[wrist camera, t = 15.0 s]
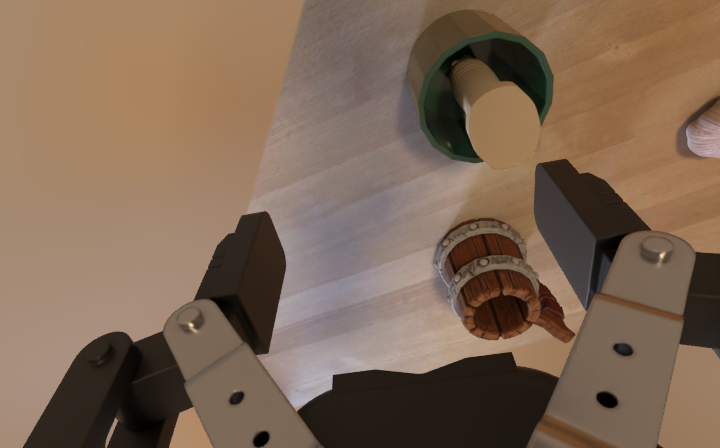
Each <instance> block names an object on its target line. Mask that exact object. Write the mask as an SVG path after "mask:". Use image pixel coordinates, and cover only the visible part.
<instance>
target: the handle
mask: <svg viewBox="0 0 720 448" xmlns="http://www.w3.org/2000/svg"><path fill="white" fill-rule="evenodd" d="M448 79H449V82H450V86H451V89H452V92H453V94H454V96H455V98H456V100H457V102H458V104H459V105H460V106H461V108H462V109H463V110H464V111H465V113H466V130H467V133H468V136H469V138H470V141H471V143H472V146H473V148H474V150H475V152H476V153H477V155H478V156H479V157H480V158H481V159H482V160H483V161H485V162H486V163H487V164H488V165H490V166H491V167H492V168H494V169H506V168H510V167H513V166H516V165H518V164H520V163H522V162H524V161H526V160H527V159H529V158H530V157H531V156H532V155H533V154H534V153H535V151H536V149H537V145H538V141H539V137H540V130H541V126H540V120H539V116H538V113H537V109H536V107H535V104H534V103H533V101H532V100H531V99H530V98H529V97H528V96H527V95H526V94H525V93H524V92H523V91H522V90H521V89H520V88H519V87H518V86H517V85H516V84H514V83H513V82H508V81H501V82H500V81H499V80H498V78H497V76H496V75H495V73H494V72H493V71H492V70H491V69H490V68H489V67H488V66H487V65H486V64H484V63H483V62H482V61H480V60H478V59H476V58H472V57H471V56H470V55H469V54H464V55H463V56H462V57H461V58H459V59H454V60H453V61H452V62H451V71H450V73H449V75H448Z"/></svg>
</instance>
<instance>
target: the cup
mask: <svg viewBox="0 0 720 448" xmlns="http://www.w3.org/2000/svg"><path fill="white" fill-rule="evenodd" d="M464 54H469V55H470V56H471V57H472V58H476V59H478V60H480V61H482V62H483V63H484V64H486V65H487V66H488V67H489V68H490V69H491V70H492V71H493V72H494V73H495V75H496V76H497V78H498V80H499V81H500V82H501V81H508V82H513V83H514V84H516V85H517V86H518V87H519V88H520V89H521V90H522V91H523V92H524V93H525V94H526V95H527V96H528V97H529V98H530V99H531V100H532V101H533V103H534V104H535V107H536V109H537V113H538V116H539V120H540V126H542V123H543V121H544V119H545V117H546V115H547V113H548V110H549V108H550V106H551V104H552V95H553V74H552V71H551V69H550V67H549V64H548V62H547V59H546V57H545V54H544V53H543V52H542V51H541V50H540V49H539V48H537V47H536V46H535V45H534V44H533V43H531V42H530V41H529V40H528V39H527V38H525V37H524V36H523V35H521V34H520V33H518V32H517V31H516V30H514V29H513V28H511V27H510V26H509V25H507V24H506V23H504V22H503V21H501V20H500V19H499V18H497V17H496V16H494V15H492V14H489V13H486V12H483V11H478V10H461V11H456V12H453V13H449V14H447V15H445V16H443V17H441V18H439V19H438V20H436V21H435V22H434V23H432V24H431V25H430V26H429V27H428V28H427V29H426V30H425V31H424V32H423V33H422V34H421V36H420V37H419V38H418V40H417V42H416V43H415V45H414V47H413V50H412V52H411V55H410V58H409V63H408V72H407V73H408V82H409V87H410V93H411V97H412V100H413V103H414V107H415V110H416V114H417V117H418V120H419V124H420V127H421V129H422V131H423V132H424V134H425V135H426V137H427V139H428V140H429V142H430V143H431V145H432V147H434V148H435V149H437V150H438V151H440V152H441V153H443V154H444V155H446V156H447V157H449V158H451V159H453V160H459V161H464V162H470V163H480V162H485V161H483V160H482V159H481V158H480V157H479V156H478V155H477V153H476V152H475V150H474V148H473V146H472V143H471V141H470V138H469V136H468V133H467V130H466V113H465V111H464V110H463V109H462V108H461V106H460V105H459V104H458V102H457V100H456V98H455V96H454V94H453V92H452V89H451V86H450V82H449V79H448V75H449V73H450V71H451V62H452V61H453V60H454V59H459V58H461V57H462V56H463V55H464Z"/></svg>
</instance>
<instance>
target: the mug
mask: <svg viewBox="0 0 720 448" xmlns="http://www.w3.org/2000/svg"><path fill="white" fill-rule="evenodd" d="M526 245H527V242H526V240H524V239H522V238H521V236H520V234H519V233H518V232H517V231H516V230H514V229H513V228H512V227H511V226H510V225H507V224H506V223H504V222H501V221H498V220H495V219H492V218H489V219H479V221H478V222H476V220H475V219H474V220H470V221H467V222H463V223H461V224H460V225H458V226H457V227H455V228H453V229H452V230H450V232H449V233H448V234H447V235H446V236H445V237H444V241H442V242H441V245H440V248H439V250H438V253H437V256H436V257H437V262H436V264H435V267H436V268H437V269H438V270H439V273H440V275H441V277H442V278H443V280H444V282H445V283H446V284H447V286H448V287H449V288H448V292H449V296H448V297H447V301H448V302H449V303H451V306H452V308H453V310H454V311H455V313H456V314H457V316H458V317H459V318H460V319H461V320H462V323H463V325H464V327H465V328H466V330H469V332H470V333H471V334H472V335H474V336H476V337H479V338H483V339H487V340H498V339H499V337H500V336H501V337H502V338H503V339H507V338H512V337H515V336H517V335H519V334H521V333H523V332H525V331H526V330H527V329H529V328H530V327H531V326H532V324H535V325H538V326H540V327H542V328H544V329H545V330H546V331H548V332H549V333H550V334H551V335H552V336H553V337H555V338H557V339H558V340H560V341H562V342H564V343H568V342H570V340H571V339H572V338H573V337H574V336H575V333H573V332H572V331H571V330H570V329H569V328H567V327H566V325H565V323H564V321H563V319H564V313H563V309H562V307H560V305H559V303H558V302H557V300H556V298H555V297H554V296H553V295H552V294H551V292H550V290H549V289H548V288H547V287H546V286H545V285H543V284H542V283H540V282H539V280H538V276H539V275H538V273H537V272H533V269H532V267H531V266H529V265H528V264H527V263H526V257H527V250H526V247H525V246H526Z"/></svg>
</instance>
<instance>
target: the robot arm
mask: <svg viewBox="0 0 720 448" xmlns="http://www.w3.org/2000/svg"><path fill="white" fill-rule="evenodd" d="M534 215H535V221H536V224H537V227H538V229H539V231H540V233H541V235H542V236H543V238H544V240H545V241H546V243H547V245H548V247H549V248H550V250H551V252H552V254H553V255H554V257H555V259H556V260H557V262H558V264H559V266H560V267H561V269H562V271H563V272H564V274H565V276H566V278H567V279H568V281H569V283H570V285H571V286H572V288H573V290H574V291H575V293H576V295H577V297H578V298H579V300H580V302H581V304H582V305H583V307H584V309H585V310H586V311H587V313H586V315H585V318H584V320H583V322H582V325H581V327H580V330H579V332H578V334H577V337H576V340H575V342H574V344H573V346H572V349H571V351H570V354H569V356H568V358H567V361H566V363H565V366H564V368H563V370H562V373H561V375H560V378H558V377H556V376H553V375H551V374H549V373H546V372H543V371H540V370H536V369H532V368H527V367H520V366H516V363H515V361H514V357H513V355H512V352H508V353H500V354H492V355H485V356H477V357H469V358H464V359H462V360H459V361H456V362H454V363H451V364H448V365H446V366H443V367H440V368H438V369H435V370H432V371H429V372H427V373H423V374H413V373H403V372H394V371H384V370H368V371H361V372H353V373H345V374H337V375H333V384H332V390H329V391H327V392H325V393H323V394H321V395H319V396H317V397H315V398H314V399H312V400H311V401H309V402H308V403H307V404H305V405H304V406H303V407H302V408H300V409H299V410H298V411H297V412H296V410H295V409H294V407H293V406H292V405H291V403H290V402H289V400H288V399H287V398H286V396H285V395H284V394H283V392H282V391H281V389H280V388H279V387H278V385H277V384H276V382H275V381H274V380H273V378H272V377H271V376H270V374H269V373H268V371H267V370H266V369H265V367H264V366H263V365H262V363H261V362H260V360H259V359H258V358H257V356H256V355H260V354H268V352H269V347H270V342H271V337H272V333H273V328H274V323H275V318H276V313H277V308H278V304H279V299H280V294H281V289H282V284H283V280H284V275H285V270H286V259H285V254H284V250H283V247H282V245H281V242H280V240H279V237H278V235H277V232H276V230H275V227H274V225H273V222H272V220H271V217H270V215H269V214H268V213H267V212H266V211H264V212H259V213H253V214H248V215H243V216H241V218H240V220H239V223H238V225H237V228H236V231H235V233H231V234H228V235H227V236H226V237H225V238H224V239H223V241H221V242H220V243H219V244H218V245H217V248H216V250H215V252H214V255H213V257H212V258H213V260H211V262H210V264H209V266H208V270H207V271H206V274H205V276H204V278H203V280H202V283H201V285H200V287H199V289H198V292H197V294H196V296H195V299H194V301H192V302H190V303H187V304H185V305H184V306H182V307H180V308H179V309H178V310H176V311H175V312H174V313H173V314H172V315H171V316H170V317H169V318H168V320H167V321H166V323H165V325H164V329H163V331H162V332H159V333H157V334H154V335H152V336H150V337H147V338H144V339H142V340H139V341H137V342H133V341H132V339H131V338H130V337H129V336H128V335H127V334H126V333H124V332H112V333H108V334H105V335H103V336H101V337H99V338H97V339H95V340H93V341H92V342H91V343H89V344H88V345H87V346H86V347H84V348H83V349H82V350H81V351H80V353H79V354H78V355H77V356H76V358H75V359H74V361H73V362H72V364H71V366H70V368H69V369H68V371H67V373H66V374H65V376H64V378H63V380H62V382H61V383H60V385H59V386H58V388H57V390H56V392H55V393H54V395H53V397H52V398H51V400H50V402H49V404H48V405H47V407H46V409H45V410H44V412H43V414H42V416H41V417H40V419H39V421H38V422H37V424H36V426H35V427H34V429H33V431H32V433H31V435H30V436H29V438H28V440H27V441H26V443H25V445H24V446H23V448H105V443H106V438H107V435H108V433H109V430H110V428H111V426H112V424H113V422H114V419H115V418H116V419H117V420H118V422H117V425H116V427H115V429H114V432H113V434H112V437H111V439H110V441H109V444H108V446H107V448H169V445H170V442H171V438H172V435H173V432H174V428H175V425H176V422H177V418H178V415H179V413H180V412H182V411H185V410H187V409H189V408H192V407H194V408H195V410H196V413H197V415H198V417H199V419H200V421H201V423H202V425H203V427H204V429H205V431H206V434H207V436H208V438H209V440H210V442H211V444H212V446H213V448H663V447H661V446H660V445H659V444H657V442H658V438H659V433H660V429H661V424H662V419H663V415H664V410H665V406H666V401H667V396H668V392H669V388H670V383H671V379H672V374H673V369H674V365H675V360H676V355H677V351H678V347H679V344H682V345H691V346H699V347H707V348H712V349H713V350H714V351H715V353H716V354H717V356H718V357H719V358H720V254H715V253H701V252H695V251H694V249H693V248H692V246H691V245H690V244H689V243H687V242H686V241H685V240H683V239H681V238H679V237H677V236H675V235H672V234H669V233H665V232H660V231H652V230H651V229H650V228H649V227H648V226H647V225H646V224H645V223H644V222H643V221H642V219H641V218H640V217H639V216H638V215H637V214H636V213H635V212H634V211H633V210H632V209H631V208H630V207H629V206H628V205H627V204H626V202H623V199H622V198H621V197H620V196H619V195H618V194H617V193H615V191H614V190H613V189H612V188H611V187H610V185H609V184H608V183H607V182H606V181H605V180H603V179H601V178H599V177H597V176H594V175H592V174H590V173H582V174H579V173H578V171H577V170H576V169H575V168H574V167H573V166H572V164H571V163H570V162H569V161H568V160H567V159H562V160H556V161H550V162H545V163H539V164H537V166H536V170H535V195H534Z"/></svg>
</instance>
